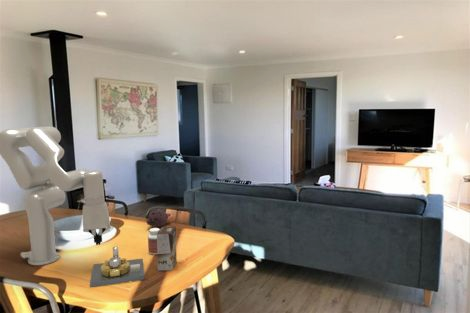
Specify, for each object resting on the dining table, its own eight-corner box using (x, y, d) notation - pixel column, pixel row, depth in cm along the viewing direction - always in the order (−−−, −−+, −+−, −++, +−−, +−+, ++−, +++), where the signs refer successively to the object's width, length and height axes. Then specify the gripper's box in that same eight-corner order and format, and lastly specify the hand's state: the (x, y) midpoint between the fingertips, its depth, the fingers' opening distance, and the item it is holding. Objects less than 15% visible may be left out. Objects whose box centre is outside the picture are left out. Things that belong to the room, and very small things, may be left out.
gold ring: (129, 274, 142) (128, 259, 141) (100, 278, 139) (99, 262, 138) (129, 258, 156) (128, 245, 155) (102, 261, 153) (102, 247, 152)
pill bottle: (162, 254, 166) (161, 231, 165) (148, 255, 165) (147, 232, 163) (161, 249, 172) (161, 226, 171) (148, 250, 171) (147, 227, 169)
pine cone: (153, 232, 194) (152, 214, 192) (140, 229, 199) (139, 212, 197) (174, 223, 209) (174, 206, 207) (161, 220, 214) (161, 204, 212)
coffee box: (172, 270, 150) (171, 233, 147) (157, 270, 150) (156, 233, 148) (177, 261, 159) (176, 226, 157) (162, 261, 159) (161, 226, 157)
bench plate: (90, 287, 137) (89, 269, 136) (93, 268, 152) (92, 252, 151) (144, 279, 142) (143, 263, 141) (142, 262, 157) (142, 247, 156)
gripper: (73, 205, 142) (77, 249, 144) (113, 201, 146) (117, 244, 148) (76, 200, 149) (80, 243, 151) (114, 197, 153) (117, 238, 156)
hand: (98, 243), depth 150 cm, fingers closed
